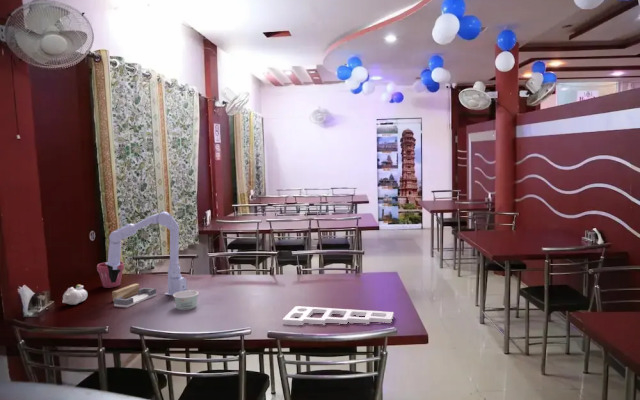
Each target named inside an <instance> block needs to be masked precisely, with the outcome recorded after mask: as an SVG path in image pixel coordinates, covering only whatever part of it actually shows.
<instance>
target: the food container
mask: <svg viewBox="0 0 640 400" xmlns="http://www.w3.org/2000/svg"><path fill="white" fill-rule="evenodd" d="M199 293H200V292H199V291H197V290H192V289H189V290H188V289H187V290H186V291H180V292H177V293H175V294H173V295H172V297H174V302H175V306H176V309H177V310H180V311H185V310H186V311H187V310H192V309H195V308H196V307H197V305H198V296H199Z"/></svg>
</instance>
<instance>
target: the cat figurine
mask: <svg viewBox="0 0 640 400" xmlns="http://www.w3.org/2000/svg"><path fill="white" fill-rule="evenodd" d="M84 288H85V287H84V285H82V284H76V285H75V288H74V286H71V287H68V288H67V289H66V290H65V291H64V293H63V295H62V302H61V303H63V304H67V305H71V306H72V305H73V306H76V305H78V304H79V303H82V302H84V301H86V300H87V298H88V291H87V290H86V289H84Z"/></svg>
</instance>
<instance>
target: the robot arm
mask: <svg viewBox="0 0 640 400" xmlns="http://www.w3.org/2000/svg"><path fill="white" fill-rule="evenodd" d="M151 224H153V225H157V224H159V225H161V226H164V227H166V228H167V229H168V230H169V235H170V236H169V264H168V268H167V275H168V276H167V278H166V279H167V291H168V292H165V293H164V295H165V296H173V294H175V293H177V292H180V291H186V290H188V281H187V278H185V277H183V276H182V274H181V266H180V264H179V260H180V259H179V250H180V249H179V248H180V247H179V246H180V245H179V243H180V241H179V240H180V235H179V234H180V226H179V223H178V222H177V221H176V219H175V218H174V216H173V215H172V214H170V213H169V212H168V211H165V210H164V211H163V210H162V211H160V212H157V213H155V214H152V215H150V216H148V217H145V218H144V219H143V220H140V221H139V222H136V223H125V225H124V226H122V227H120V228H119V227H118V228H117V229H116V230H113V231H112V232H111V233H110V234H109V236H108V239H109V240H108V241H109V245H108V253H107V254H108V256H107V257H108V258H107V262H106V261H105V262H106V263H105V264H106V265H107V267H108V271H109V278H110V279H111V283H114V282H116V279H117V276H118V274H119V272H120V269H117V268H118V266H119V265H120V262H121V255H122V254H121V253H122V240H125V239H127V238H129V237H131V236H133V235H135V234H137V231H138V230H139V229H140V230H141V229H142V228H145V227H147V226H149V225H151Z"/></svg>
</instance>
